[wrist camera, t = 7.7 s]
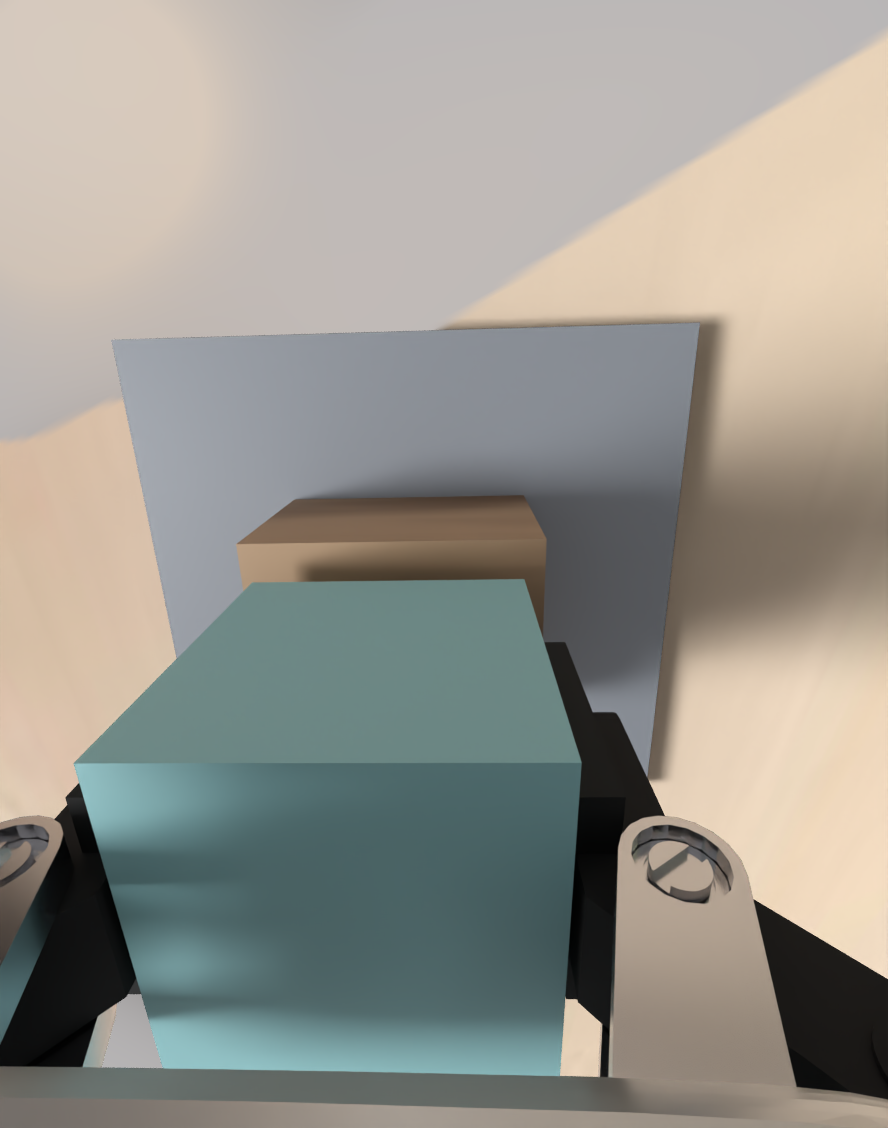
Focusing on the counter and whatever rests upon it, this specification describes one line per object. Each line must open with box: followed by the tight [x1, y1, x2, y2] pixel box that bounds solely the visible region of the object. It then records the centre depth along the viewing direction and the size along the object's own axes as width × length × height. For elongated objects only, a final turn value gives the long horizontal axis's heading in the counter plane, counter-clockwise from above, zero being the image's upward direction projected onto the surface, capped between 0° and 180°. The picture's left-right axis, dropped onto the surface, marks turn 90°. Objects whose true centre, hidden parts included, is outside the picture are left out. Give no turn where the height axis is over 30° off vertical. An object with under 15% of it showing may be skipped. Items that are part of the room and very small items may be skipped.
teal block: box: [74, 579, 582, 1076], centre depth 9 cm, size 5×5×5 cm
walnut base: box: [236, 495, 547, 637], centre depth 14 cm, size 6×6×4 cm
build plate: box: [112, 323, 700, 776], centre depth 16 cm, size 14×14×1 cm
